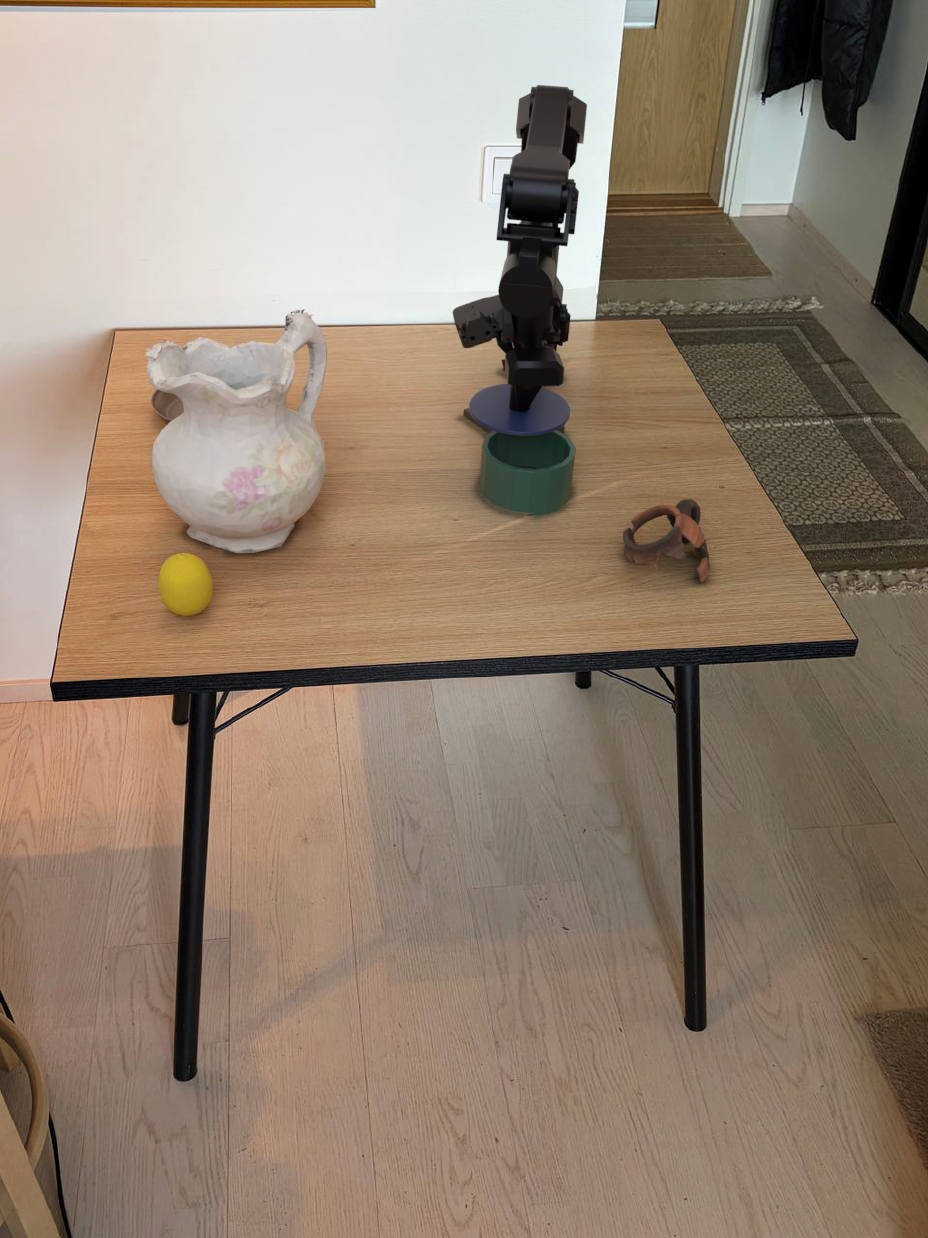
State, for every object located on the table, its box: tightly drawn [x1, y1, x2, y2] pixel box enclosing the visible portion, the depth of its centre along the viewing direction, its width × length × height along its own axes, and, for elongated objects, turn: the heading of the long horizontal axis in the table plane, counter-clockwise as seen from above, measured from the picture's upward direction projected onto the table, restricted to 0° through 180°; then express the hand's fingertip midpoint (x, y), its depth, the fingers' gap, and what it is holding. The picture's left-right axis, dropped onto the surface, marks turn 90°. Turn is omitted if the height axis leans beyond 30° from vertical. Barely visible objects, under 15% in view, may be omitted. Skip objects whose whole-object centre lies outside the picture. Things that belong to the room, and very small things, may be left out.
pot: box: [479, 430, 577, 517], centre depth 145 cm, size 11×11×6 cm
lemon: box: [158, 552, 214, 617], centre depth 123 cm, size 6×6×8 cm
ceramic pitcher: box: [143, 309, 328, 554], centre depth 132 cm, size 22×20×25 cm
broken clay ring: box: [622, 498, 711, 583], centre depth 136 cm, size 12×10×8 cm
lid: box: [468, 383, 571, 436], centre depth 140 cm, size 12×12×5 cm
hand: (520, 404), depth 141 cm, fingers closed on lid, 3 cm apart
